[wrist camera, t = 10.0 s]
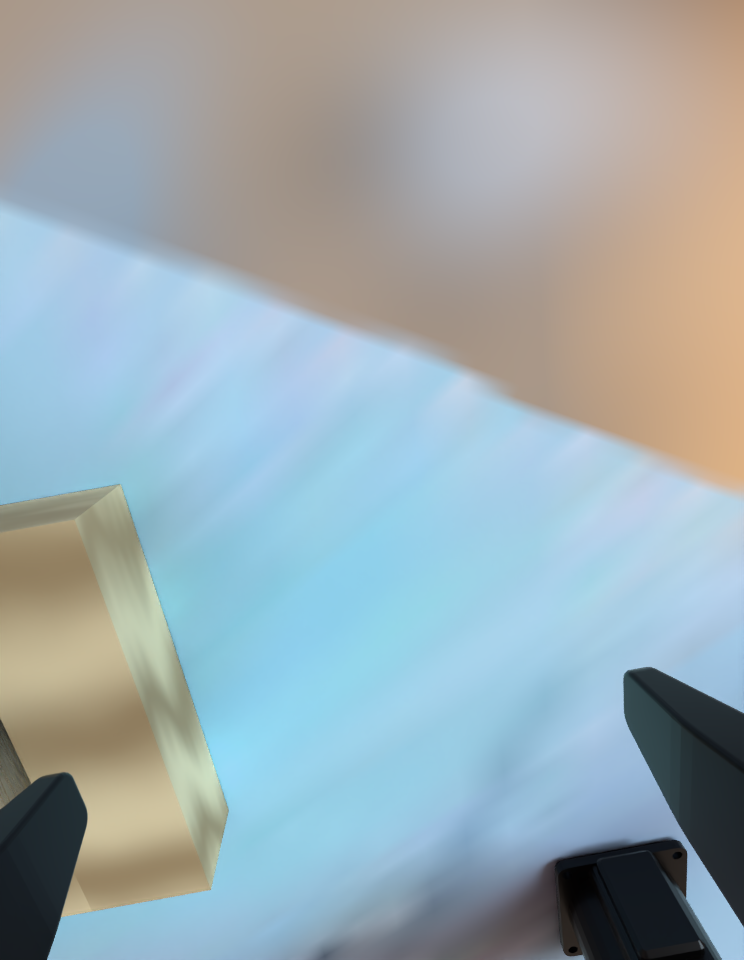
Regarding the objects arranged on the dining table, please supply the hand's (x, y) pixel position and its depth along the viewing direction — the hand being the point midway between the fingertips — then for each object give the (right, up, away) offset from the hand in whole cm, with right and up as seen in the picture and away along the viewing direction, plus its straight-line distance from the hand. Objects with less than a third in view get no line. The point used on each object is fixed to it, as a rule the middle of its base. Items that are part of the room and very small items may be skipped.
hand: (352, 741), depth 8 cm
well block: (-14, -5, +13) cm, 20 cm away
